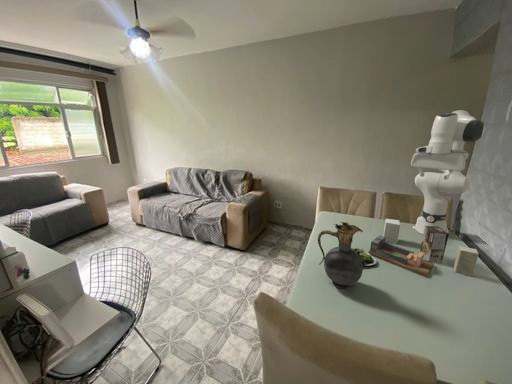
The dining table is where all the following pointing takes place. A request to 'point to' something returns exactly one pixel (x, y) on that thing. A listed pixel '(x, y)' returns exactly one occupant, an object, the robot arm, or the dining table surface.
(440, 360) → the dining table surface
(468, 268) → the skincare box
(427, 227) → the coffee box
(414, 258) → the block
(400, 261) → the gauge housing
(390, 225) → the supplement box
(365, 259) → the salad plate
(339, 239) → the pitcher
